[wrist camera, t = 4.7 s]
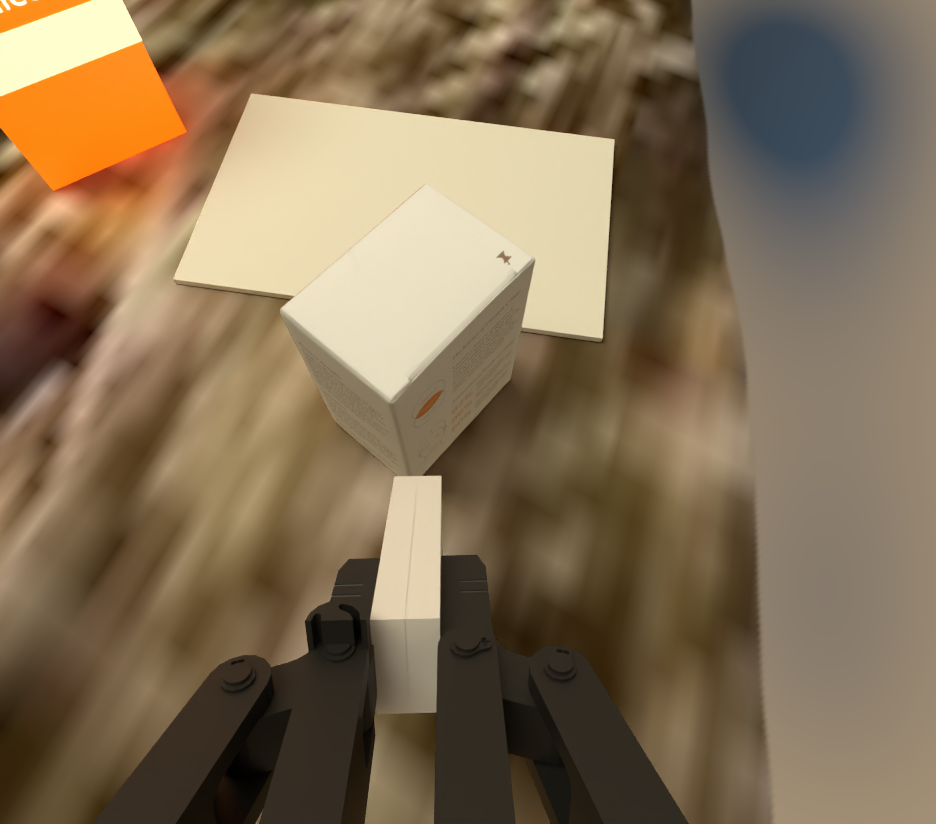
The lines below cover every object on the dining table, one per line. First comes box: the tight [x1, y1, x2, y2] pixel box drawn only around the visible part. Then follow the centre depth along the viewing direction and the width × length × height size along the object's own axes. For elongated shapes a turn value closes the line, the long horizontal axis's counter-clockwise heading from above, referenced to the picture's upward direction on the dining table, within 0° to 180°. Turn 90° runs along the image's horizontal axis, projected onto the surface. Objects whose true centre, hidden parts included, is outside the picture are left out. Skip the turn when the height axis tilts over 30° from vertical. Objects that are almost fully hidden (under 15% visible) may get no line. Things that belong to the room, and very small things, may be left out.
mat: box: [173, 94, 614, 342], centre depth 35 cm, size 24×15×1 cm, turn 82°
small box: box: [280, 184, 535, 476], centre depth 26 cm, size 8×6×10 cm
